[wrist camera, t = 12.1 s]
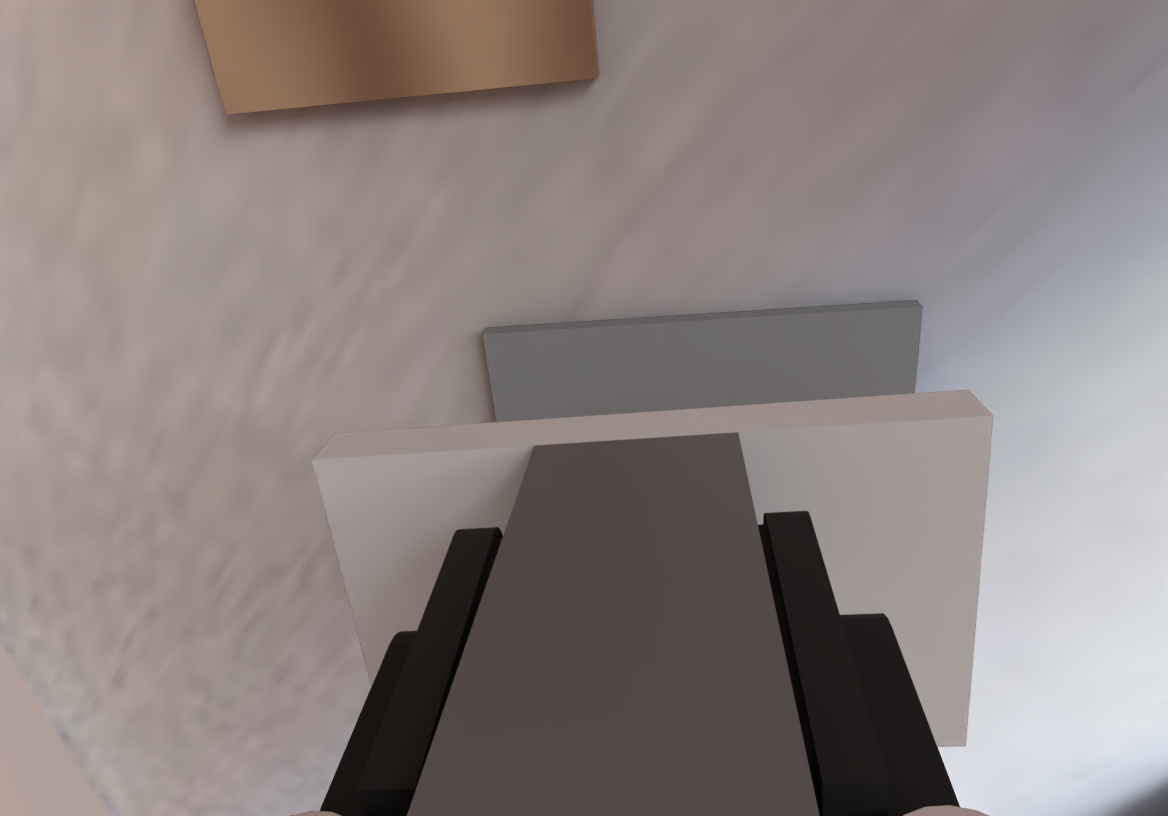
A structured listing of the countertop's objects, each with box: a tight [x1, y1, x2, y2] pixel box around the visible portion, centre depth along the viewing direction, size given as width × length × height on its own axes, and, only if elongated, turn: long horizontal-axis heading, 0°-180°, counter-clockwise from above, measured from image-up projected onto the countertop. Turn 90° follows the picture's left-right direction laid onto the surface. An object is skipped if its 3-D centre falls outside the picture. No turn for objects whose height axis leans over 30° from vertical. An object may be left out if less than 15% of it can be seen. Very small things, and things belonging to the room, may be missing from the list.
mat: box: [482, 300, 923, 422], centre depth 30 cm, size 14×16×1 cm
